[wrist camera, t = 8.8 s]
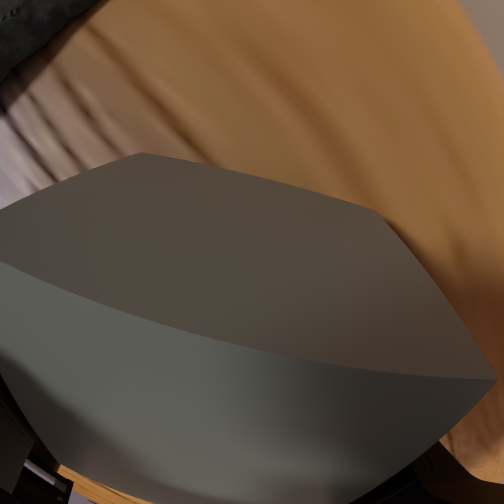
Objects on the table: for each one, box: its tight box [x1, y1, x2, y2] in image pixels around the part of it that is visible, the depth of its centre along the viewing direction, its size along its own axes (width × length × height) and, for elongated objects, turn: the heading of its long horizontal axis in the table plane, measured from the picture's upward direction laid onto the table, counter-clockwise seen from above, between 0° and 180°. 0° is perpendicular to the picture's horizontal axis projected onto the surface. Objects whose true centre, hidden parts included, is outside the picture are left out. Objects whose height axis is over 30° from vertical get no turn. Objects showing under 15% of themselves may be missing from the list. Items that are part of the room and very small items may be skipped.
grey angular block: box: [0, 152, 498, 504], centre depth 7 cm, size 8×8×7 cm
